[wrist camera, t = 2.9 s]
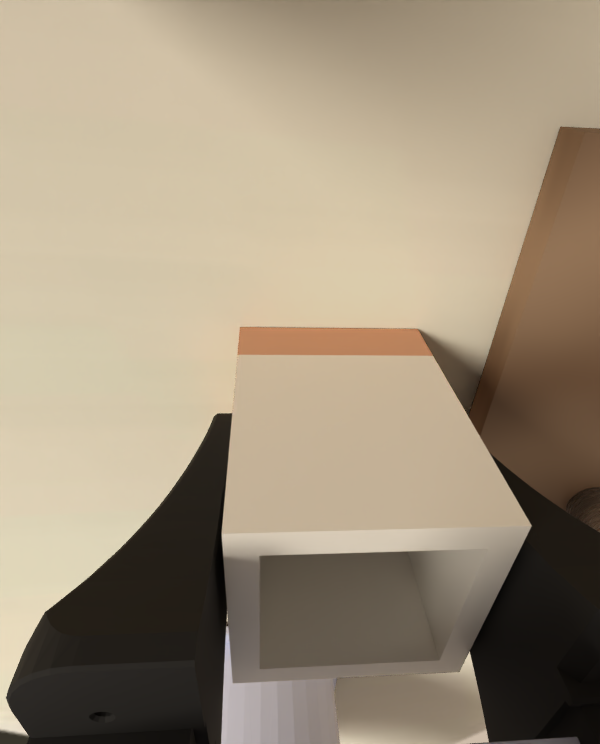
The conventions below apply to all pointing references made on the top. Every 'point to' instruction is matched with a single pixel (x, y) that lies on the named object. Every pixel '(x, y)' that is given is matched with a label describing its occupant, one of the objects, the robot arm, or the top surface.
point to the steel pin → (586, 507)
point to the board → (551, 335)
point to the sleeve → (357, 510)
